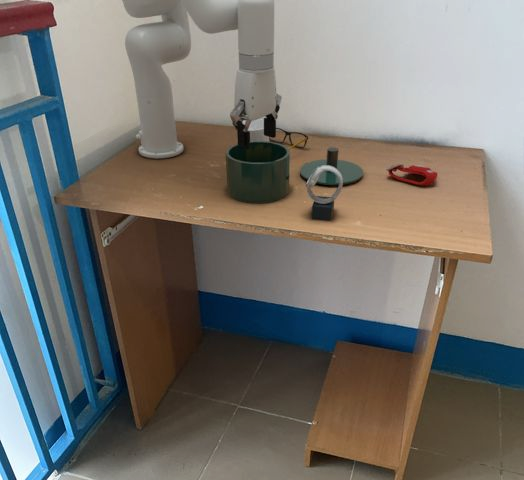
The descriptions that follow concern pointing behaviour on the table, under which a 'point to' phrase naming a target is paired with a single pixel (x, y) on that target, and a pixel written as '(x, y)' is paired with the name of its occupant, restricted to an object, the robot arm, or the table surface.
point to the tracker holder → (415, 170)
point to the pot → (258, 172)
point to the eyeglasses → (290, 138)
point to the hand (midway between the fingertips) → (257, 142)
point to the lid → (346, 169)
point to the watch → (322, 205)
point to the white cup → (257, 130)
